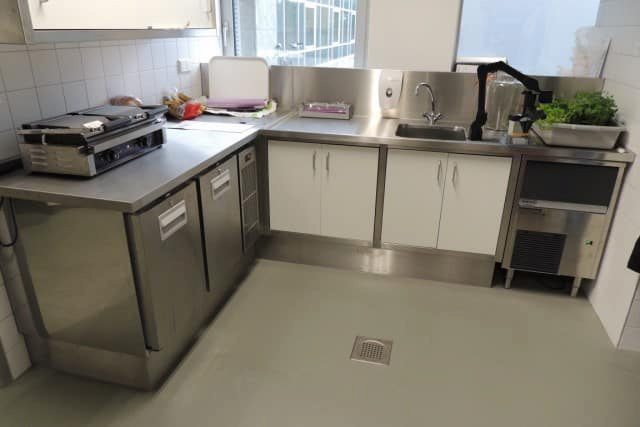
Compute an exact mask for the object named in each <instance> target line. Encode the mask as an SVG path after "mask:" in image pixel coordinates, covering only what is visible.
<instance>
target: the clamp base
mask: <svg viewBox="0 0 640 427" xmlns="http://www.w3.org/2000/svg"><path fill="white" fill-rule="evenodd" d="M504 134H506V135H505V137H504V136H503V135H504ZM499 138H500V139H497V143H499V144H500V145H503V146H505V147H507V148H510V147H515V148H516V147H537V146H538V144H537V143H535V142H533V144H528V139H526V138H523V137H522V136H521V137H519V136H513V137H511V135H510V134H508V133H507V132H506V131H505V132H501V133H500V136H499Z"/></svg>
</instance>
